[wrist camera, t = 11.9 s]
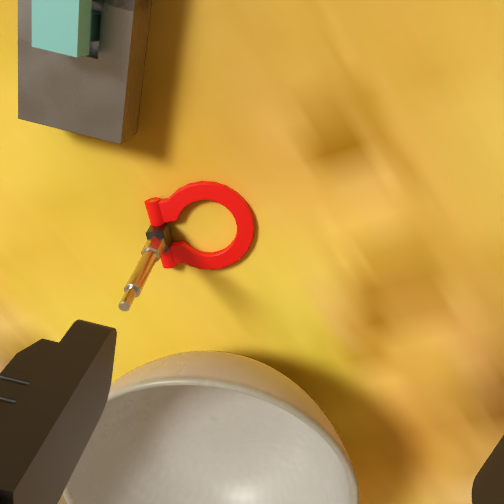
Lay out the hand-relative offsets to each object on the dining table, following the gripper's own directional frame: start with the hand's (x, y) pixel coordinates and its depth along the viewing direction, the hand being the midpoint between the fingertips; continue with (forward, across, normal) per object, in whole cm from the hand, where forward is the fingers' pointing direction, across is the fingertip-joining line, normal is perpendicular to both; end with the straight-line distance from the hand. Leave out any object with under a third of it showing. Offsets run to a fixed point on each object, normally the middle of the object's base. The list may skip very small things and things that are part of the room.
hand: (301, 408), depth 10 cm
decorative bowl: (+32, 0, +32) cm, 45 cm away
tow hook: (+32, +6, +12) cm, 35 cm away
